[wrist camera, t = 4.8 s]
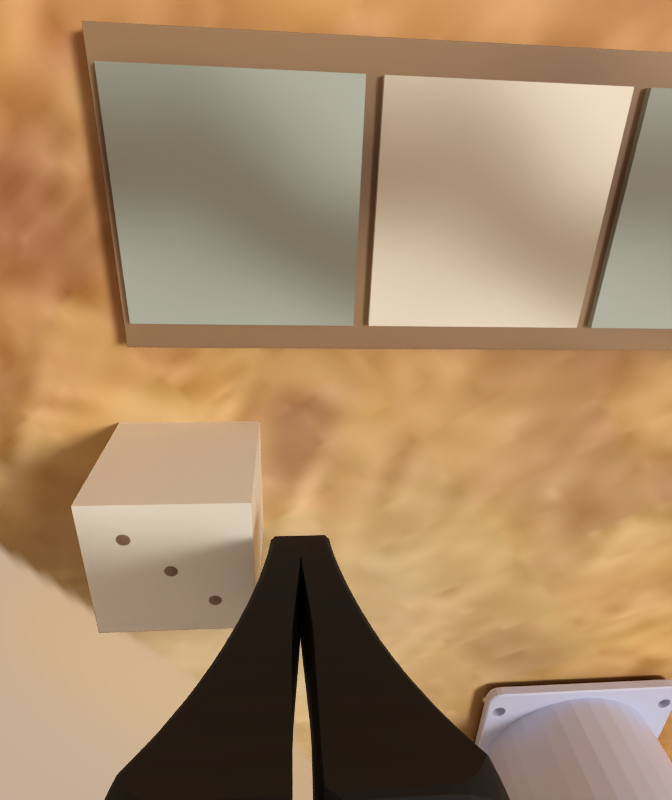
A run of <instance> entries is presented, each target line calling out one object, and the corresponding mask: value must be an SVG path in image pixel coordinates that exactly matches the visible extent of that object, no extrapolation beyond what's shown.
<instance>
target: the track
mask: <svg viewBox="0 0 672 800" xmlns="http://www.w3.org/2000/svg"><path fill="white" fill-rule="evenodd" d="M82 28H83V35H84V42H85V49H86V56H87V63H88V70H89V77H90V84H91V91H92V99H93V106H94V113H95V120H96V127H97V134H98V141H99V148H100V155H101V162H102V169H103V177H104V184H105V191H106V198H107V205H108V212H109V219H110V226H111V233H112V240H113V247H114V255H115V262H116V269H117V276H118V283H119V290H120V297H121V304H122V311H123V318H124V325H125V333H126V340H127V347H173V348H347V349H521V350H672V53H671V52H652V51H633V50H615V49H596V48H578V47H559V46H540V45H522V44H503V43H484V42H466V41H447V40H428V39H410V38H391V37H372V36H354V35H335V34H316V33H298V32H279V31H261V30H242V29H223V28H205V27H186V26H167V25H149V24H130V23H111V22H93V21H82Z"/></svg>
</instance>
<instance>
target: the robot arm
mask: <svg viewBox="0 0 672 800" xmlns="http://www.w3.org/2000/svg"><path fill="white" fill-rule="evenodd" d="M300 638H301V647H302V657H303V666H304V675H305V684H306V693H307V701H308V710H309V719H310V729H311V743H312V771H313V800H672V763H671V761H670V759H669V758H668V756H667V754H666V753H665V751H664V749H663V748H662V746H661V744H660V743H659V741H658V737H659V735H660V733H661V731H662V729H663V726H664V724H665V722H666V720H667V718H668V716H669V714H670V712H671V709H672V681H671V680H667V679H662V680H641V681H619V682H598V683H577V684H556V685H534V686H513V687H498V688H494V689H492V690H490V691H489V692H488V694H487V695H486V699H485V703H484V707H483V711H482V716H481V720H480V724H479V728H478V733H477V737H476V741H475V743H474V742H472V741H471V740H470V739H469V738H468V737H467V736H466V735H465V734H464V733H463V732H461V731H460V730H459V729H458V728H457V727H456V726H455V725H454V724H453V723H452V722H451V721H450V720H449V719H448V718H447V717H446V716H445V715H444V714H443V713H442V712H441V711H440V710H439V709H438V708H437V707H436V706H435V705H434V704H433V703H432V702H431V701H430V700H429V699H428V698H427V697H426V695H425V694H424V693H423V692H422V691H421V690H420V689H419V688H418V687H417V685H416V684H415V683H414V682H413V681H412V680H411V679H410V678H409V677H408V675H407V674H406V673H405V672H404V671H403V669H402V668H401V667H400V666H399V664H398V663H397V662H396V661H395V659H394V658H393V657H392V655H391V654H390V653H389V651H388V650H387V649H386V647H385V646H384V645H383V643H382V642H381V640H380V639H379V637H378V636H377V634H376V633H375V631H374V630H373V628H372V627H371V625H370V624H369V622H368V621H367V619H366V617H365V616H364V614H363V613H362V611H361V609H360V607H359V606H358V604H357V602H356V600H355V598H354V597H353V595H352V593H351V591H350V589H349V587H348V585H347V583H346V581H345V579H344V577H343V575H342V573H341V571H340V569H339V566H338V564H337V562H336V559H335V557H334V554H333V551H332V548H331V545H330V541H329V539H328V538H327V537H326V536H325V535H316V536H275V537H274V538H273V539H272V540H271V543H270V548H269V552H268V555H267V558H266V561H265V564H264V567H263V570H262V572H261V575H260V577H259V580H258V582H257V584H256V586H255V589H254V591H253V593H252V595H251V597H250V600H249V602H248V604H247V606H246V608H245V609H244V611H243V613H242V615H241V617H240V619H239V621H238V622H237V624H236V626H235V628H234V630H233V632H232V633H231V635H230V637H229V638H228V640H227V642H226V643H225V645H224V647H223V648H222V650H221V651H220V653H219V654H218V656H217V657H216V659H215V660H214V662H213V663H212V665H211V666H210V668H209V669H208V670H207V672H206V673H205V675H204V676H203V677H202V679H201V680H200V682H199V683H198V684H197V686H196V687H195V688H194V690H193V691H192V692H191V694H190V695H189V696H188V698H187V699H186V700H185V701H184V702H183V704H182V705H181V706H180V707H179V708H178V710H177V711H176V712H175V713H174V714H173V715H172V717H171V718H170V719H169V720H168V721H167V723H166V724H165V725H164V726H163V727H162V729H161V730H160V731H159V732H158V733H157V734H156V735H155V736H154V737H153V738H152V740H151V741H150V742H149V743H148V744H147V745H146V746H145V747H144V748H143V749H142V750H141V751H140V752H139V753H138V754H137V755H136V756H135V757H134V758H133V759H132V760H131V761H130V762H129V763H128V764H127V765H126V766H125V767H124V768H123V769H122V770H121V771H120V772H119V773H118V775H117V776H116V778H115V780H114V782H113V783H112V785H111V787H110V789H109V791H108V793H107V796H106V798H105V800H292V745H293V724H294V712H295V699H296V687H297V675H298V662H299V649H300Z"/></svg>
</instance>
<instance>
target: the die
mask: <svg viewBox="0 0 672 800" xmlns="http://www.w3.org/2000/svg"><path fill="white" fill-rule="evenodd" d="M71 509H72V513H73V518H74V522H75V527H76V531H77V536H78V540H79V545H80V549H81V554H82V558H83V563H84V567H85V572H86V576H87V581H88V585H89V590H90V594H91V599H92V604H93V608H94V613H95V617H96V622H97V626H98V631H99V633H106V632H107V633H108V632H136V631H163V630H191V629H219V628H235V626H236V624H237V622H238V621H239V619H240V617H241V615H242V613H243V611H244V609H245V608H246V606H247V604H248V602H249V600H250V597H251V595H252V593H253V591H254V589H255V586H256V584H257V582H258V580H259V577H260V569H261V554H262V539H263V508H262V476H261V445H260V421H237V422H120V423H119V424H118V426H117V428H116V429H115V431H114V433H113V435H112V436H111V438H110V440H109V441H108V443H107V445H106V447H105V448H104V450H103V452H102V453H101V455H100V457H99V459H98V460H97V462H96V464H95V466H94V467H93V469H92V471H91V472H90V474H89V476H88V478H87V479H86V481H85V483H84V484H83V486H82V488H81V490H80V491H79V493H78V495H77V497H76V498H75V500H74V502H73V503H72V505H71Z"/></svg>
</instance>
